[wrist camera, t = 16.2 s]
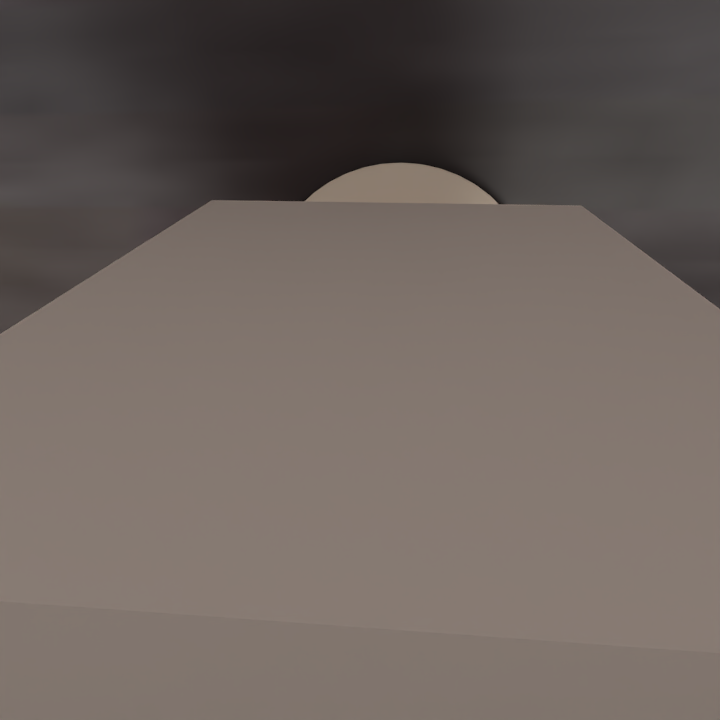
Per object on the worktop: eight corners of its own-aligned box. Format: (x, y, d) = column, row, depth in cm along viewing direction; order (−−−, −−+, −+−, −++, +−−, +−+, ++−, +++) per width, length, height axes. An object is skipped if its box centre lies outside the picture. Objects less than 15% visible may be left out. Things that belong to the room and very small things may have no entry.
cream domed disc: (553, 164, 14) (555, 165, 14) (513, 418, 18) (514, 422, 17) (256, 160, 15) (254, 161, 14) (276, 407, 18) (275, 410, 18)
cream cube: (581, 206, 10) (1226, 689, 2) (525, 493, 13) (695, 1093, 5) (211, 200, 10) (-378, 574, 3) (248, 478, 14) (38, 1008, 6)
